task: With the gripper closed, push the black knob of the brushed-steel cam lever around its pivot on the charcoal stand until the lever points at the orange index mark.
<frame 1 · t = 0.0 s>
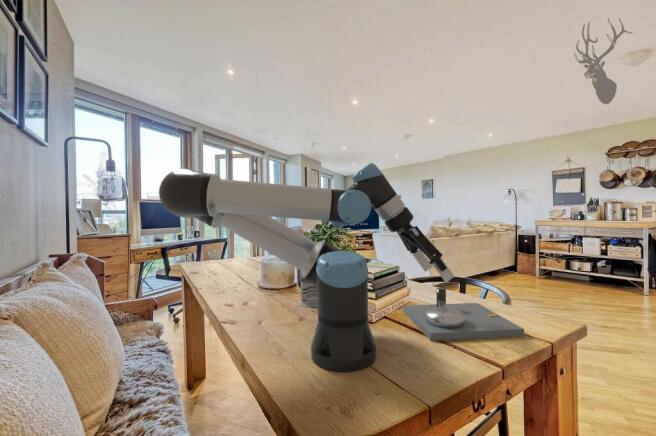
hand: (438, 273, 85), 15 cm above the table, tool tilted 35°, fingers open, 13 cm apart
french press: (314, 303, 110), on the table
cam lever: (443, 306, 89), point 5 cm above the table, hinge at 70.0°
stand: (444, 328, 85), on the table
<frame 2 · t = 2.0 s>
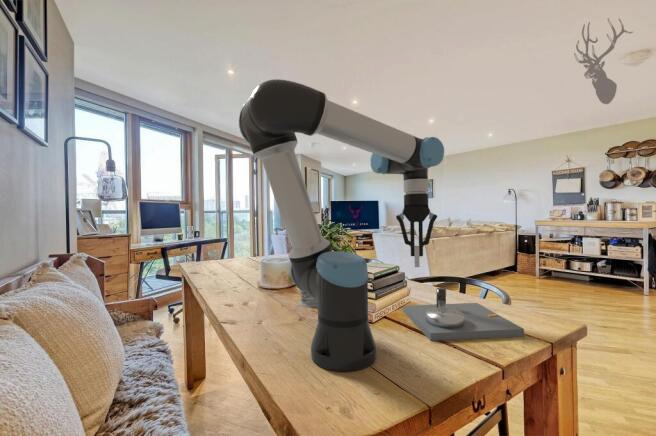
hand: (417, 266, 98), 15 cm above the table, tool pointing down, fingers closed
nothing on the table moved.
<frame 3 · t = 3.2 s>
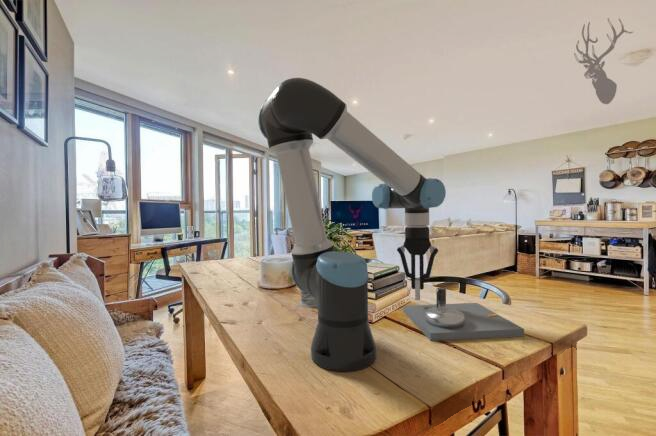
hand: (417, 298, 98), 4 cm above the table, tool pointing down, fingers closed
nothing on the table moved.
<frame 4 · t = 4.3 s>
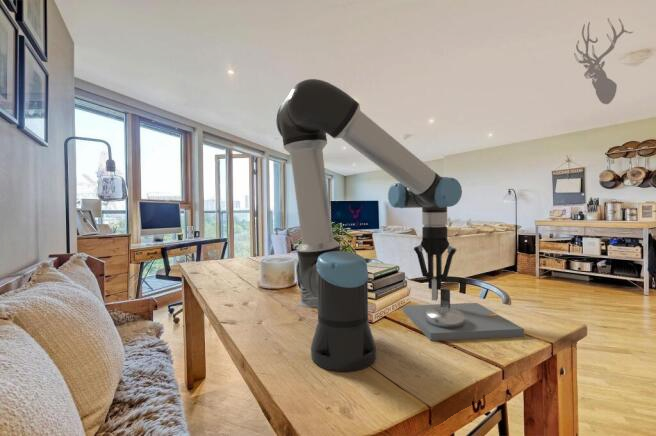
hand: (434, 299, 97), 5 cm above the table, tool pointing down, fingers closed
cam lever: (444, 306, 88), point 5 cm above the table, hinge at 64.2°, touching gripper
everything else where it was.
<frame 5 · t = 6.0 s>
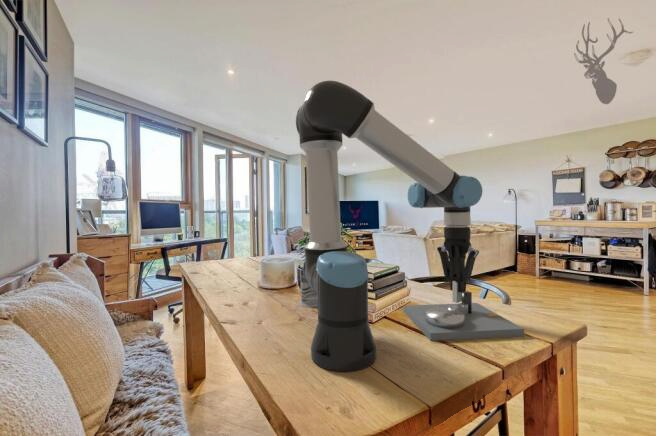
hand: (457, 301, 94), 5 cm above the table, tool pointing down, fingers closed
cam lever: (452, 307, 87), point 5 cm above the table, hinge at 33.9°, touching gripper
everything else where it was.
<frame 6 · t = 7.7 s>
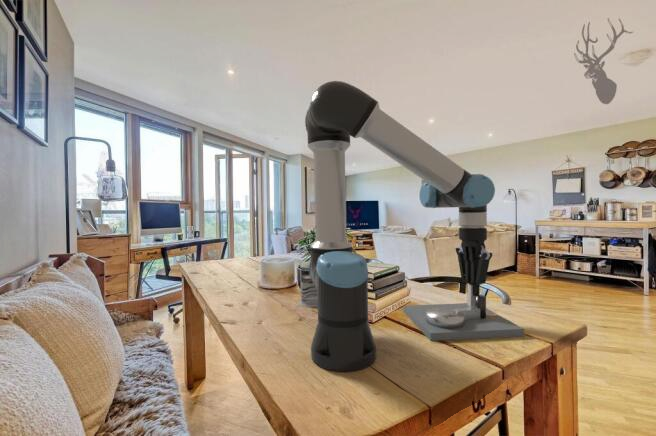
hand: (472, 305, 91), 4 cm above the table, tool pointing down, fingers closed
cam lever: (457, 309, 86), point 5 cm above the table, hinge at 11.2°, touching gripper
everything else where it was.
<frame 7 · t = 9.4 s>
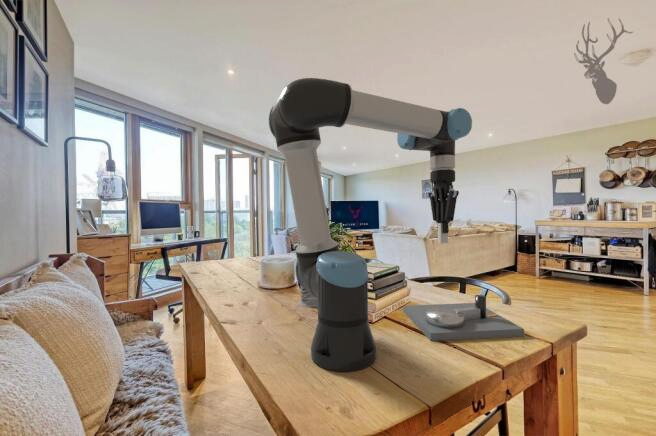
hand: (442, 243, 98), 22 cm above the table, tool pointing down, fingers closed
cam lever: (457, 309, 86), point 5 cm above the table, hinge at 11.2°
everything else where it was.
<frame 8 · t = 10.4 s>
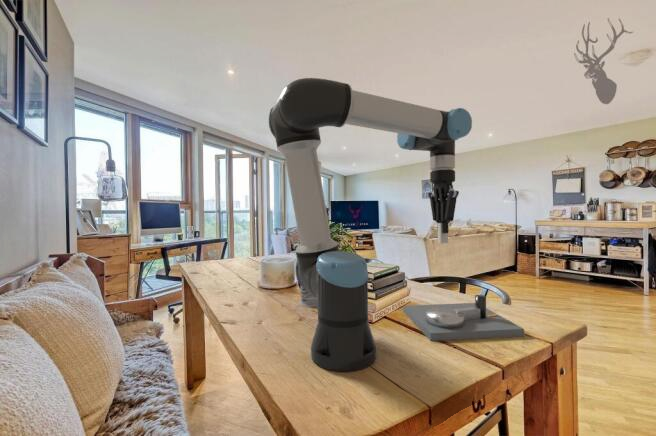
hand: (442, 243, 98), 22 cm above the table, tool pointing down, fingers closed
nothing on the table moved.
at the end: cam lever at +11° (first picture: +70°) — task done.
